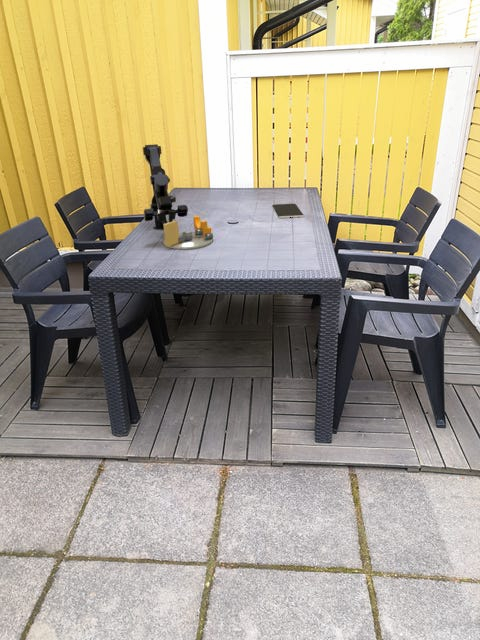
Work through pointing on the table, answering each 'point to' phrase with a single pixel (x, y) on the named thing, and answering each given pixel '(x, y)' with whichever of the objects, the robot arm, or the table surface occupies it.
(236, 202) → the table surface
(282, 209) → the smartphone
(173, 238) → the tan upright panel
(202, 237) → the dial plate
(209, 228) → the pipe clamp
